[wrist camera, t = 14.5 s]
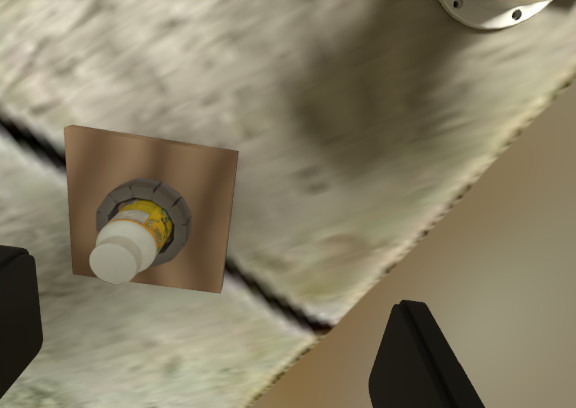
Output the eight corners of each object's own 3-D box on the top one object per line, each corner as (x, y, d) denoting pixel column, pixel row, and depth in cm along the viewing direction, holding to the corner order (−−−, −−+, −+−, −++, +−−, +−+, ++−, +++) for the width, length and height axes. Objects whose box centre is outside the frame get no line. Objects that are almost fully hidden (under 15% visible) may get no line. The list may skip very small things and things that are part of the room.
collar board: (238, 151, 39) (233, 161, 35) (222, 286, 45) (217, 306, 42) (72, 124, 38) (49, 132, 34) (79, 267, 44) (60, 286, 40)
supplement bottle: (126, 189, 39) (80, 230, 30) (178, 199, 39) (147, 242, 30) (124, 234, 41) (80, 285, 32) (173, 243, 41) (143, 295, 32)
